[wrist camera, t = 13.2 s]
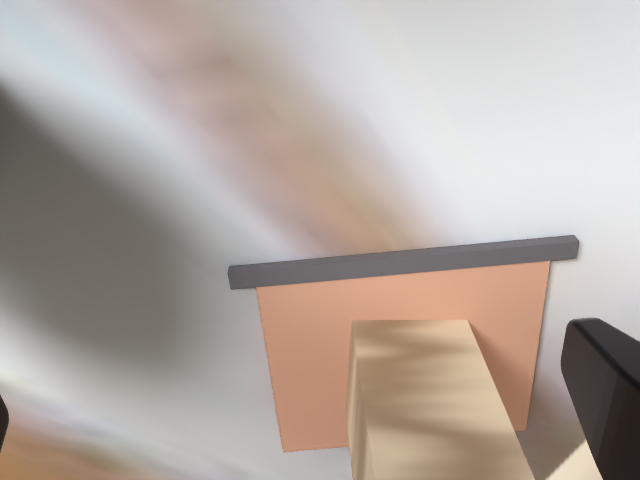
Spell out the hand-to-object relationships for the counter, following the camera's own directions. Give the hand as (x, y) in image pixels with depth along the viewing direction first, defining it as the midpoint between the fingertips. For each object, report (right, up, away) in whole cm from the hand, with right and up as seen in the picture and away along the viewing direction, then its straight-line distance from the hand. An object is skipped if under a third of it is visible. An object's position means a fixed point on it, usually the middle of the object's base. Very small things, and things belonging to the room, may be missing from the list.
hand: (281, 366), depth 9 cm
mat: (+4, -3, +17) cm, 18 cm away
